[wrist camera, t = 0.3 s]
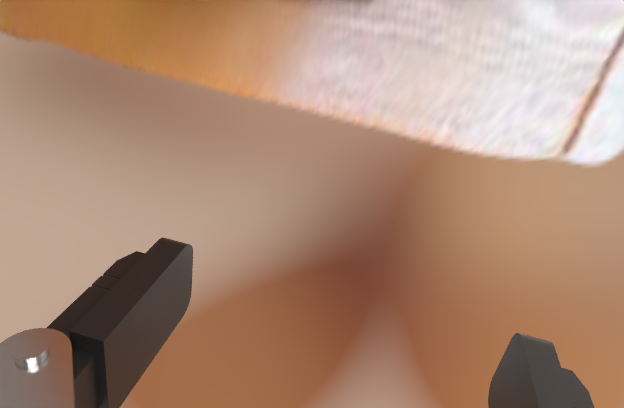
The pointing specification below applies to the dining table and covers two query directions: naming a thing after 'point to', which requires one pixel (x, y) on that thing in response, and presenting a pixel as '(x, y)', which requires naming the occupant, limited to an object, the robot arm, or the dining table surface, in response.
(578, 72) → the dining table surface
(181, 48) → the dining table surface
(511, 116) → the dining table surface
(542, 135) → the dining table surface
